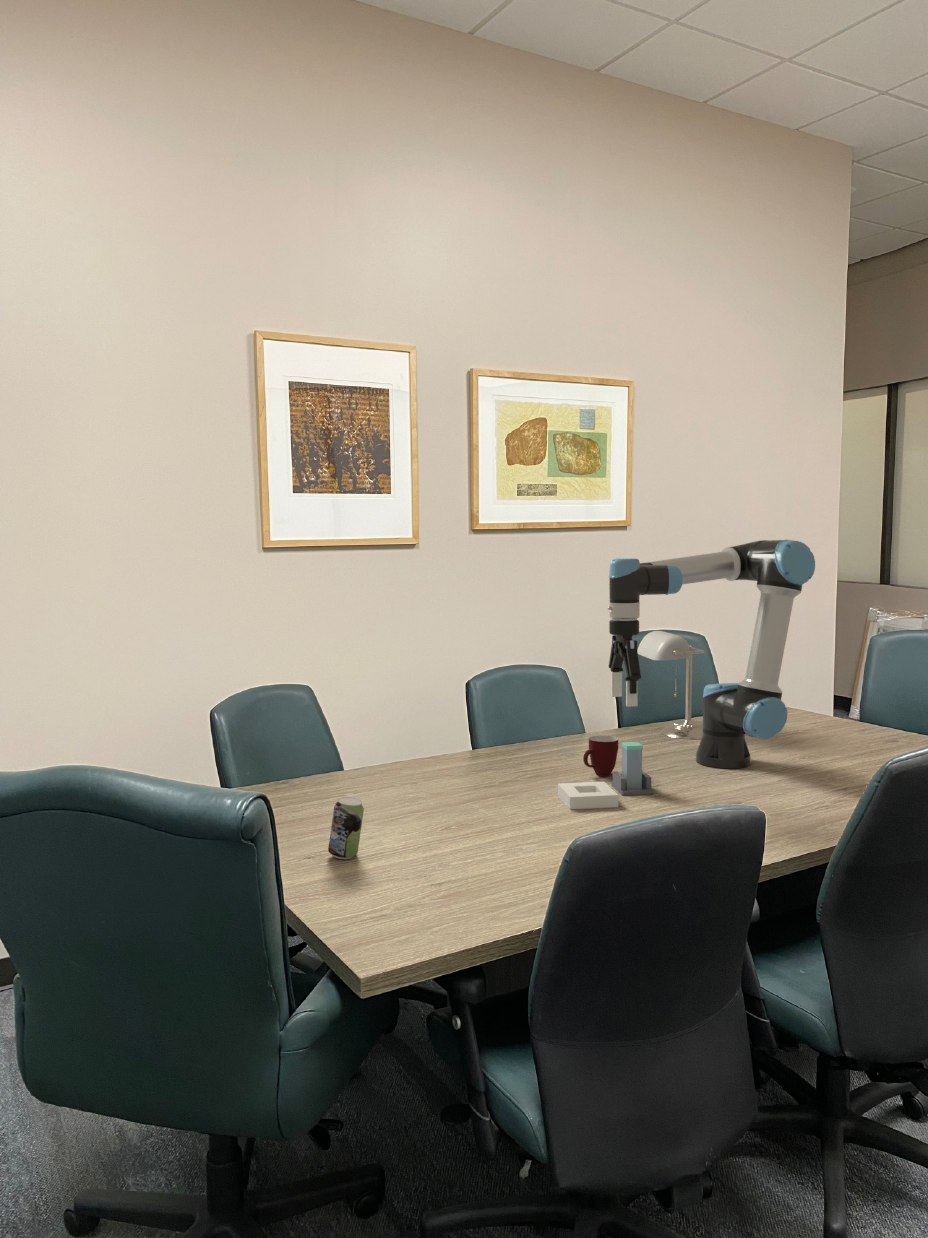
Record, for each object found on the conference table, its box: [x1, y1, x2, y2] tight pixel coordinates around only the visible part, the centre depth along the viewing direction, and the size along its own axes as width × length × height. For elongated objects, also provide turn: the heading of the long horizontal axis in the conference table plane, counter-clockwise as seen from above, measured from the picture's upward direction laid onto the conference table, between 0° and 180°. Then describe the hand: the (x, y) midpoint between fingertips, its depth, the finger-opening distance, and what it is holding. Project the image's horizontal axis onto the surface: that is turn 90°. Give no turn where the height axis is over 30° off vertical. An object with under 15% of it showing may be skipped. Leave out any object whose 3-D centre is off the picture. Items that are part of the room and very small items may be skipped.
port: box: [557, 781, 619, 810], centre depth 216 cm, size 12×12×3 cm
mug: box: [583, 735, 619, 777], centre depth 240 cm, size 10×8×10 cm
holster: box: [610, 769, 654, 796], centre depth 226 cm, size 8×9×4 cm
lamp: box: [637, 630, 706, 740], centre depth 290 cm, size 26×24×34 cm
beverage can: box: [327, 796, 365, 860], centre depth 178 cm, size 6×7×12 cm
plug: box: [621, 741, 644, 790], centre depth 225 cm, size 4×4×12 cm
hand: (623, 701), depth 225 cm, fingers open, 13 cm apart
